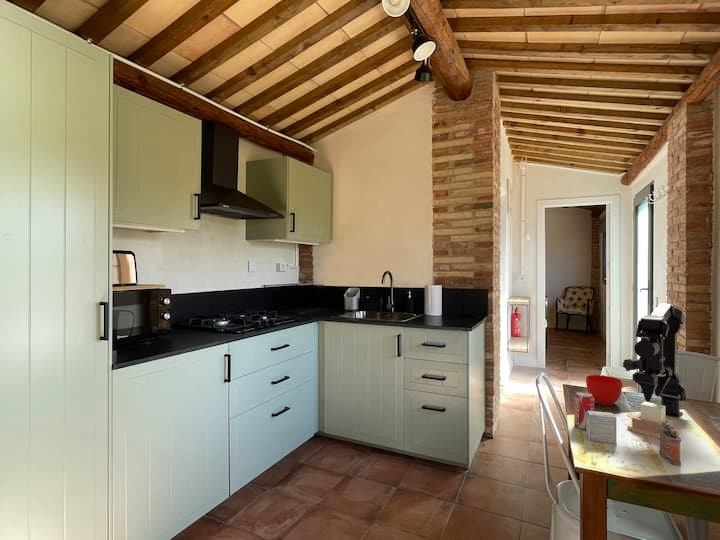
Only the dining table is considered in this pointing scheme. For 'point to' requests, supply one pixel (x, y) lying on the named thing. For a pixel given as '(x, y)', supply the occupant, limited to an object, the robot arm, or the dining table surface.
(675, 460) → the lighter
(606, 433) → the medicine box
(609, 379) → the red bowl
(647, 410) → the plug
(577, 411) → the beverage can
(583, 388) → the dining table surface
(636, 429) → the dock
